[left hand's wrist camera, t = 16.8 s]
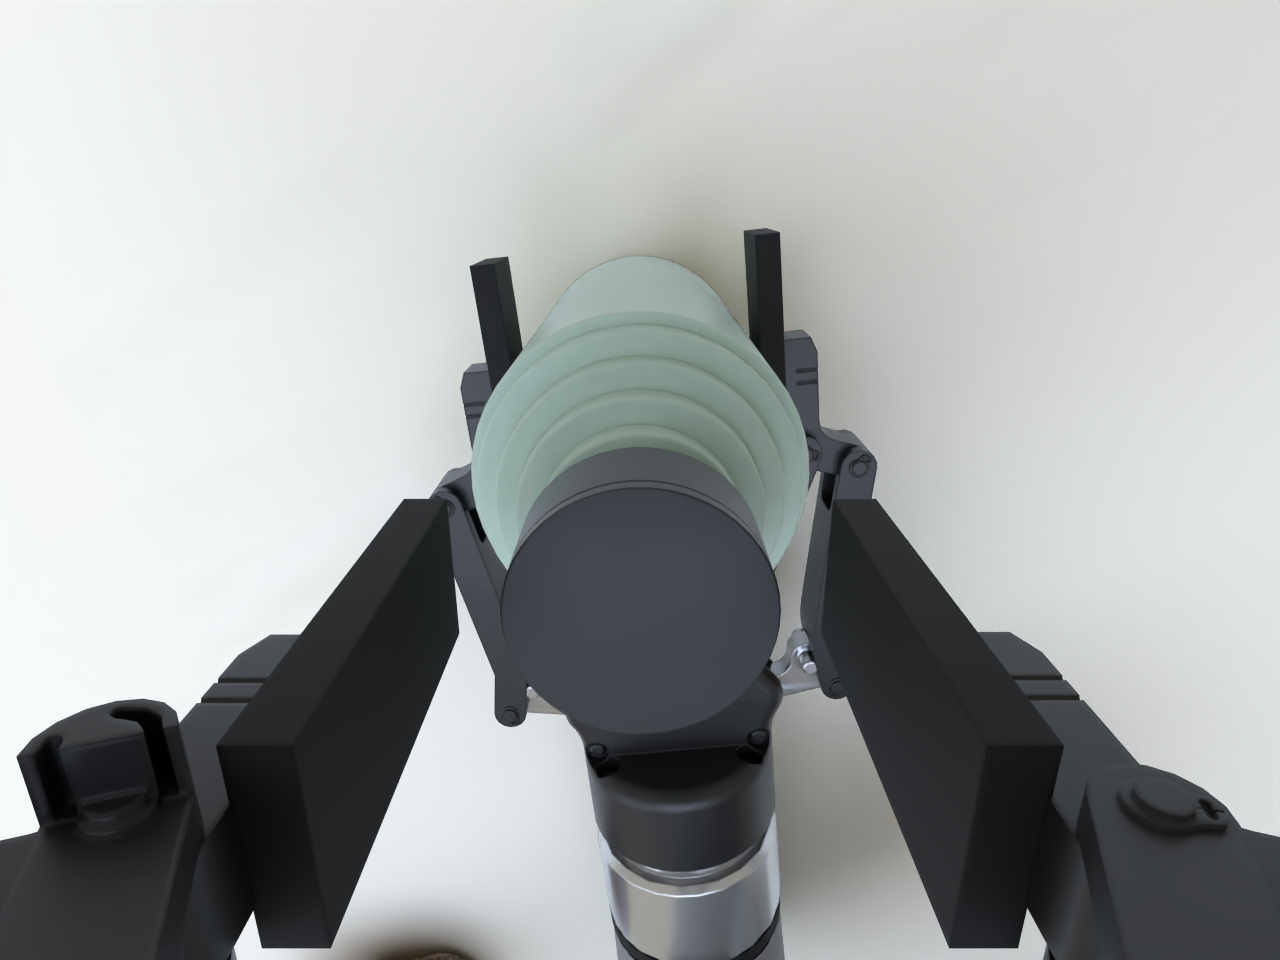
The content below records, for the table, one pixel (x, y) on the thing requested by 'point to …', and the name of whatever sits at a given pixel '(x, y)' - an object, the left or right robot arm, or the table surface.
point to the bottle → (640, 399)
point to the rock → (440, 957)
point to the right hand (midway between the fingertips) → (624, 247)
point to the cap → (640, 593)
